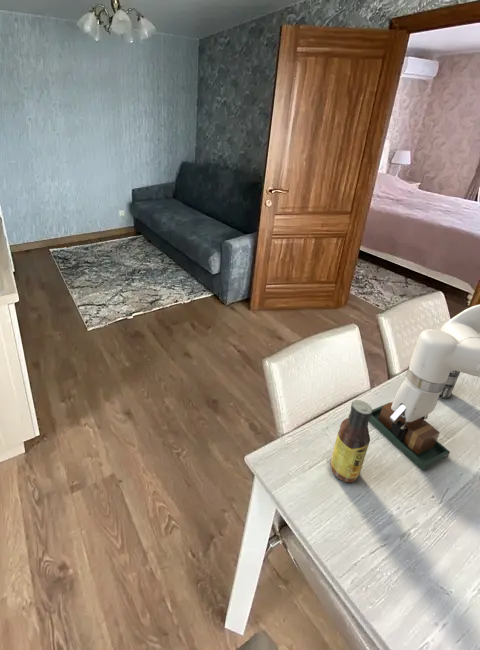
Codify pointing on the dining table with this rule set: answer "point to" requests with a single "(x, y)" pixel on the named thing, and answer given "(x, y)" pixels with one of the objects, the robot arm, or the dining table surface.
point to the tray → (420, 460)
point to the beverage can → (450, 384)
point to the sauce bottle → (352, 443)
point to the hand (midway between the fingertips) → (405, 431)
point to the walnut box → (412, 431)
